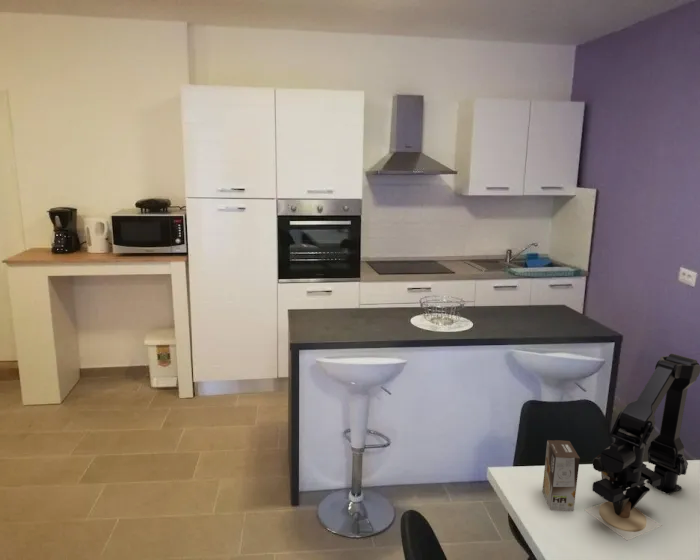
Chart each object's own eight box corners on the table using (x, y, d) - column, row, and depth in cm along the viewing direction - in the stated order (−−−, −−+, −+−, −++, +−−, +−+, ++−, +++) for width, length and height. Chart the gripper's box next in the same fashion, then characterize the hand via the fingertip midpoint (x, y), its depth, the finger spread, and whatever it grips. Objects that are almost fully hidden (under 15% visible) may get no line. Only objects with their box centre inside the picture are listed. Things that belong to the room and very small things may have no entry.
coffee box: (574, 513, 143) (581, 458, 140) (549, 511, 144) (555, 457, 140) (564, 492, 152) (570, 440, 149) (540, 490, 153) (546, 439, 149)
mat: (617, 498, 150) (617, 497, 149) (661, 527, 138) (661, 525, 138) (583, 511, 144) (584, 509, 144) (626, 541, 133) (627, 540, 132)
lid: (618, 500, 148) (620, 485, 147) (655, 524, 138) (658, 508, 138) (589, 510, 143) (591, 495, 142) (626, 536, 134) (628, 520, 133)
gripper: (627, 435, 148) (620, 486, 152) (578, 450, 140) (572, 503, 144) (665, 455, 138) (657, 509, 142) (615, 473, 130) (608, 529, 134)
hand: (622, 512), depth 141 cm, fingers open, 4 cm apart
